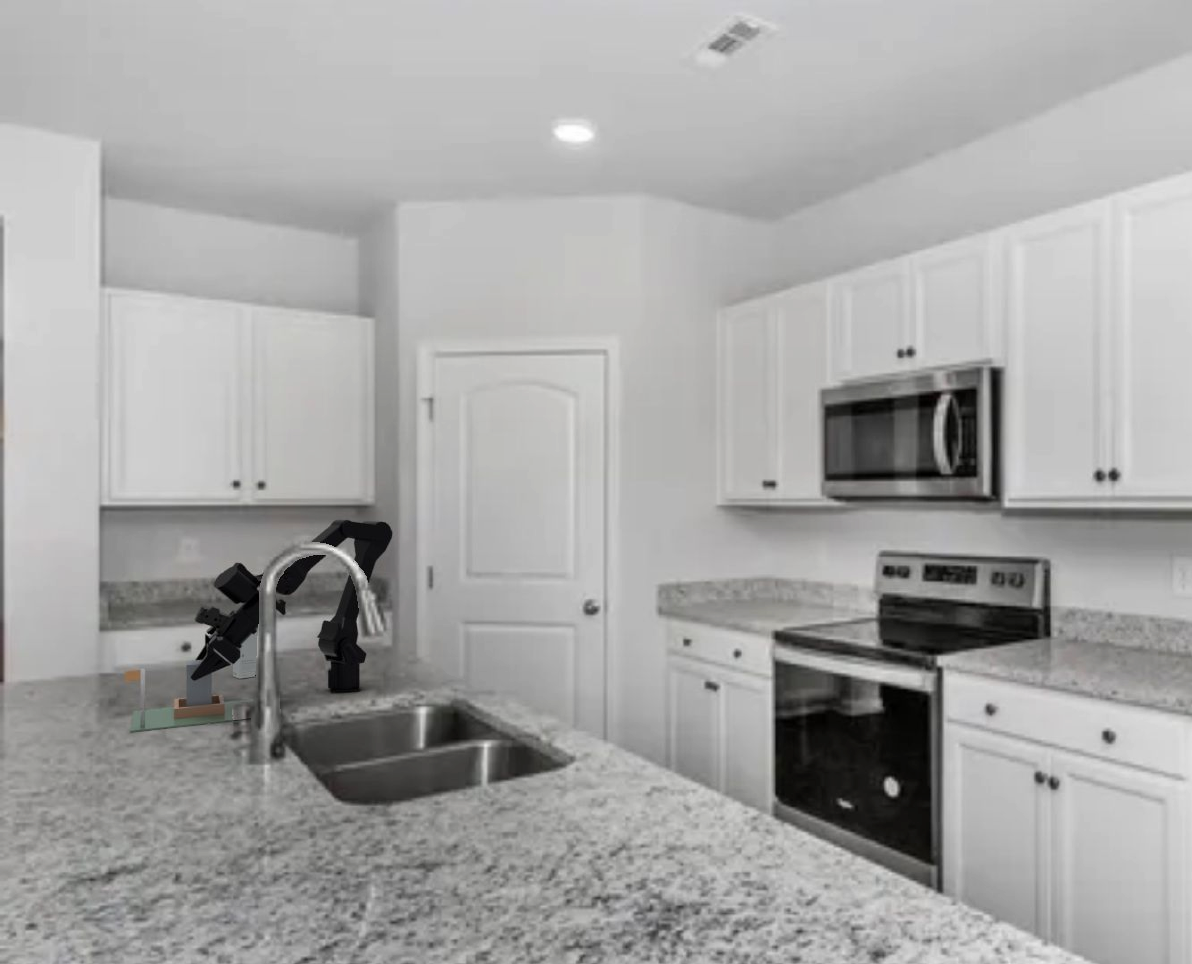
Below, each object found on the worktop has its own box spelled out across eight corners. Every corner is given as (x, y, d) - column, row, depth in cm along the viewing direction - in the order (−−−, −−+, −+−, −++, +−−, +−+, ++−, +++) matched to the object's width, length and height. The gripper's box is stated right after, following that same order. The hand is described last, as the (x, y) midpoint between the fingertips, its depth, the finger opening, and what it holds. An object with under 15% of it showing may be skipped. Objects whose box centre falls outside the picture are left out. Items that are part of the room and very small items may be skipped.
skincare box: (239, 679, 210) (239, 628, 210) (232, 676, 213) (232, 626, 213) (264, 675, 214) (264, 625, 214) (257, 672, 217) (257, 623, 217)
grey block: (210, 707, 182) (210, 659, 182) (211, 712, 178) (211, 663, 178) (186, 709, 180) (186, 661, 180) (186, 715, 176) (186, 665, 176)
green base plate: (259, 699, 190) (259, 647, 190) (266, 717, 175) (266, 660, 175) (128, 713, 179) (128, 657, 179) (124, 732, 164) (124, 672, 165)
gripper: (217, 586, 189) (160, 641, 184) (222, 596, 172) (159, 657, 168) (257, 620, 193) (202, 675, 188) (264, 633, 176) (204, 694, 171)
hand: (191, 674), depth 179 cm, fingers open, 9 cm apart
